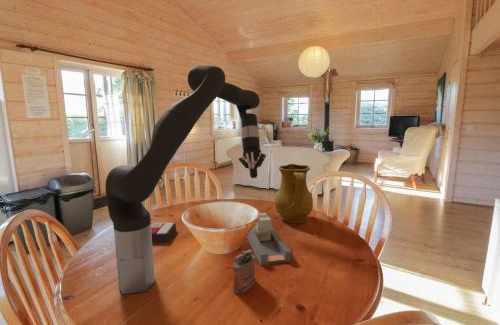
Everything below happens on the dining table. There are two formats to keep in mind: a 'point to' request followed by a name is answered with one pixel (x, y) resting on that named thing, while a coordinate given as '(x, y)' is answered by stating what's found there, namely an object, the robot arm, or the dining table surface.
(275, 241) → the chute
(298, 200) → the pitcher
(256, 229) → the block
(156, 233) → the dark box
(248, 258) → the lighter
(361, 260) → the dining table surface
